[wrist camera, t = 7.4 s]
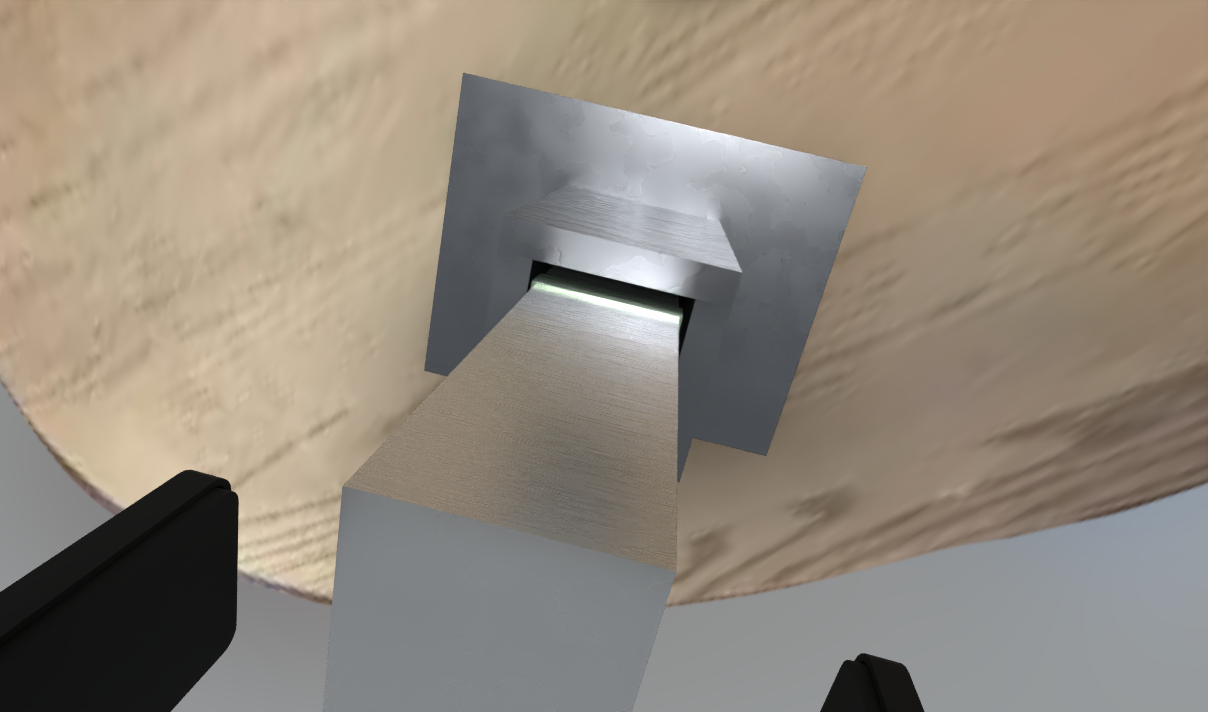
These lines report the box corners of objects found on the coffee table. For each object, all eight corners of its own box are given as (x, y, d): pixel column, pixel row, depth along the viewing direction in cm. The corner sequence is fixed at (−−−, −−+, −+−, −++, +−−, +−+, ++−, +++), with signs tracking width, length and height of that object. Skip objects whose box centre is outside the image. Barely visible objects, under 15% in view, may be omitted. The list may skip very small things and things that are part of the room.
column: (681, 269, 27) (685, 567, 8) (654, 373, 28) (606, 812, 10) (570, 242, 27) (335, 478, 9) (549, 348, 29) (314, 732, 10)
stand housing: (858, 165, 32) (982, 188, 19) (762, 443, 38) (807, 611, 24) (472, 75, 33) (332, 37, 20) (433, 361, 38) (304, 482, 25)
